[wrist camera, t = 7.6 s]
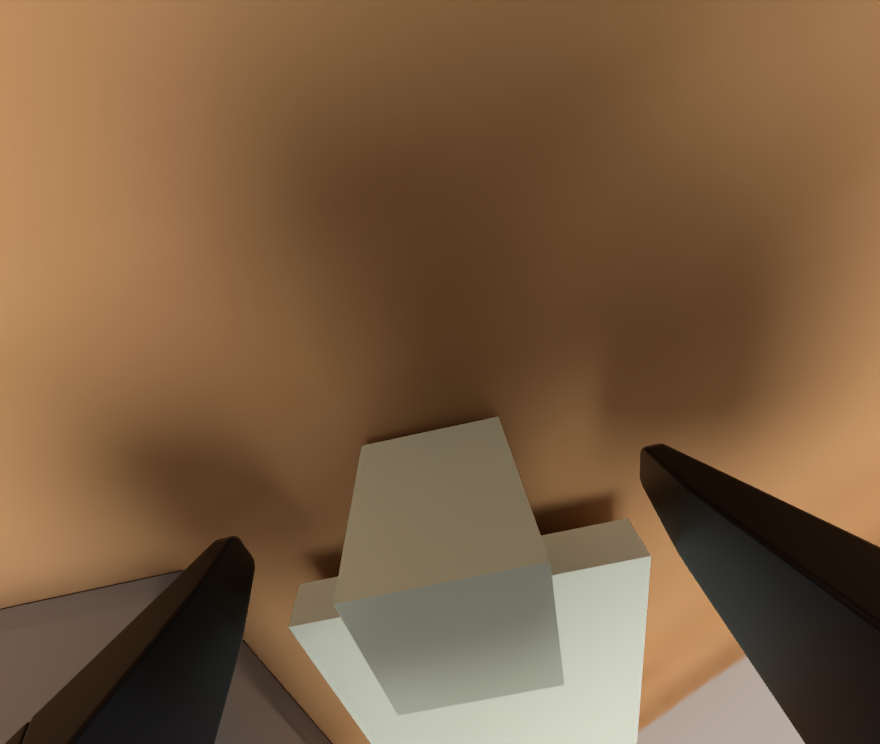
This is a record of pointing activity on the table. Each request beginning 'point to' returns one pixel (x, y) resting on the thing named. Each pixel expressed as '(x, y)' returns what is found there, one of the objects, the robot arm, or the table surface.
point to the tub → (93, 627)
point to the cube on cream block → (475, 605)
